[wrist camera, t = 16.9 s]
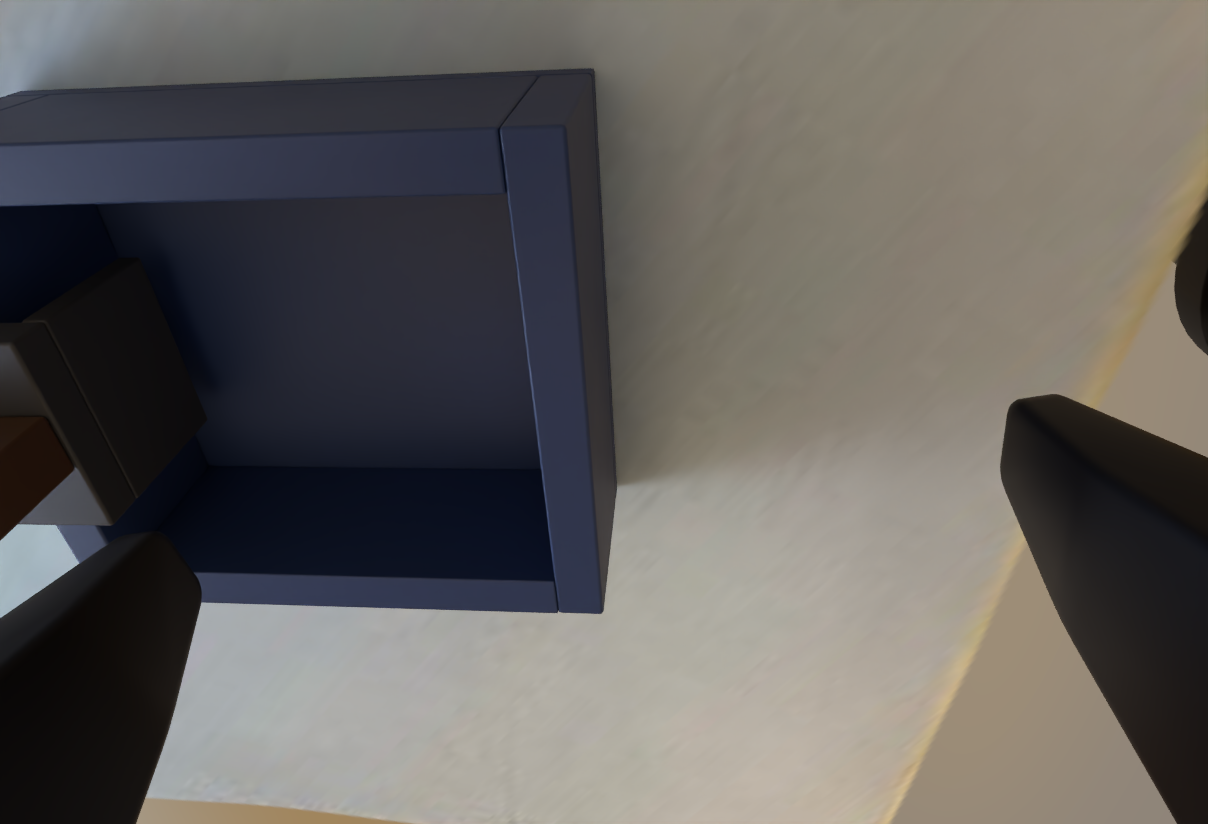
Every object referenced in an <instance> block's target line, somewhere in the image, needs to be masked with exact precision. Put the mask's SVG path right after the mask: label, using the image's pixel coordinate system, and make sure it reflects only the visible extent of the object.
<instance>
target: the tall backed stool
mask: <svg viewBox="0 0 1208 824" xmlns="http://www.w3.org/2000/svg"><path fill="white" fill-rule="evenodd" d="M206 421H207V416H206V414H205V412H204V409H203V407H202V404H201V402H200V400H199V397H198V395H197V393H196V390H195V388H194V385H193V383H192V381H191V378H190V376H189V374H188V371H187V369H186V366H185V364H184V362H183V359H182V357H181V355H180V352H179V350H178V347H177V345H176V343H175V340H174V338H173V336H172V333H171V331H170V328H169V326H168V324H167V321H166V319H165V317H164V314H163V312H162V310H161V307H160V305H159V302H158V300H157V298H156V295H155V293H154V291H153V288H152V286H151V283H150V281H149V279H148V276H147V274H146V272H145V269H144V267H143V264H142V262H141V260H140V258H138V257H137V258H118V259H117V260H115V261H113V262H112V263H110V264H109V265H107V266H106V267H104V268H103V269H101V270H100V271H98V272H97V273H95V274H93V275H92V276H90V277H89V278H87V279H86V280H84V281H83V282H81V283H80V284H78V285H77V286H75V287H73V288H72V289H70V290H69V291H67V292H66V293H64V294H63V295H61V296H60V297H58V298H57V299H55V300H53V301H52V302H50V303H49V304H47V305H46V306H44V307H43V308H41V309H40V310H38V311H37V312H35V313H33V314H32V315H30V316H29V317H27V318H26V319H24V320H23V321H22V323H0V540H1V539H2V538H4V537H5V536H6V535H7V534H8V533H9V532H10V531H11V530H12V529H13V528H14V527H15V526H16V525H17V524H37V525H104V526H111V525H113V524H115V523H116V522H117V520H118V519H119V518H120V517H121V516H122V515H123V514H124V513H125V511H126V510H127V509H128V508H129V507H130V506H131V505H132V504H133V503H134V501H135V498H138V497H139V496H140V495H141V494H142V493H143V492H144V491H145V489H146V488H147V487H148V486H149V485H150V484H151V483H152V482H153V481H154V479H155V478H156V477H157V476H158V475H159V474H160V473H161V472H162V471H163V469H164V468H165V467H166V466H167V465H168V464H169V463H170V462H171V461H172V459H173V458H174V457H175V456H176V455H177V454H178V453H179V452H180V450H181V449H182V448H183V447H184V446H185V445H186V444H187V443H188V442H189V440H190V439H191V438H192V437H193V436H194V435H195V434H196V433H197V432H198V430H199V429H200V428H201V427H202V426H203V425H204V424H205V423H206Z"/></svg>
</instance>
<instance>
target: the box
mask: <svg viewBox="0 0 1208 824" xmlns="http://www.w3.org/2000/svg"><path fill="white" fill-rule="evenodd" d="M137 257H138V258H140V260H141V262H142V264H143V267H144V269H145V272H146V274H147V276H148V279H149V281H150V283H151V286H152V288H153V291H154V293H155V295H156V298H157V300H158V302H159V305H160V307H161V310H162V312H163V314H164V317H165V319H166V321H167V324H168V326H169V328H170V331H171V333H172V336H173V338H174V340H175V343H176V345H177V347H178V350H179V352H180V355H181V357H182V359H183V362H184V364H185V366H186V369H187V371H188V374H189V376H190V378H191V381H192V383H193V385H194V388H195V390H196V393H197V395H198V397H199V400H200V402H201V404H202V407H203V409H204V412H205V414H206V416H207V421H206V423H205V424H204V425H203V426H202V427H201V428H200V429H199V430H198V432H197V433H196V434H195V435H194V436H193V437H192V438H191V439H190V440H189V442H188V443H187V444H186V445H185V446H184V447H183V448H182V449H181V450H180V452H179V453H178V454H177V455H176V456H175V457H174V458H173V459H172V461H171V462H170V463H169V464H168V465H167V466H166V467H165V468H164V469H163V471H162V472H161V473H160V474H159V475H158V476H157V477H156V478H155V479H154V481H153V482H152V483H151V484H150V485H149V486H148V487H147V488H146V489H145V491H144V492H143V493H142V494H141V495H140V496H139V497H138V498H135V501H134V503H133V504H132V505H131V506H130V507H129V508H128V509H127V510H126V511H125V513H124V514H123V515H122V516H121V517H120V518H119V519H118V520H117V522H116V523H115V524H113V525H111V526H104V525H56V526H57V527H58V529H59V531H60V532H61V534H62V536H63V537H64V539H65V541H66V542H67V544H68V546H69V547H70V549H71V550H72V552H73V554H74V555H75V557H76V559H77V560H78V562H79V564H80V563H81V562H83V561H84V560H86V559H87V558H89V557H90V556H91V555H93V554H94V553H96V552H97V551H99V550H100V549H102V548H103V547H104V546H106V545H107V544H109V543H110V542H112V541H113V540H115V539H116V538H118V537H121V536H123V535H127V534H134V533H140V532H147V531H158V532H161V533H163V534H165V535H166V536H168V538H169V539H170V540H171V541H172V543H173V544H174V545H175V547H176V548H177V550H178V551H179V552H180V554H181V555H182V557H183V558H184V559H185V561H186V562H187V564H188V565H189V567H190V568H191V569H192V571H193V572H194V574H195V575H196V576H197V578H198V580H199V582H200V585H201V590H202V601H201V602H206V603H239V604H272V605H306V606H339V607H372V608H405V609H439V610H472V611H505V612H538V613H558V610H559V612H561V613H591V614H601V613H602V612H603V611H604V602H605V593H606V583H607V574H608V565H609V555H610V546H611V537H612V528H613V518H614V509H615V498H616V491H617V480H616V462H615V444H614V425H613V407H612V388H611V370H610V351H609V333H608V314H607V296H606V278H605V259H604V241H603V222H602V204H601V185H600V167H599V148H598V130H597V112H596V93H595V75H594V69H592V68H589V69H564V70H539V71H514V72H489V73H464V74H439V75H414V76H389V77H364V78H339V79H314V80H289V81H264V82H239V83H214V84H190V85H165V86H140V87H115V88H90V89H65V90H40V91H20V92H17V93H14V94H11V95H7V96H6V97H1V98H0V323H22V321H23V320H24V319H26V318H27V317H29V316H30V315H32V314H33V313H35V312H37V311H38V310H40V309H41V308H43V307H44V306H46V305H47V304H49V303H50V302H52V301H53V300H55V299H57V298H58V297H60V296H61V295H63V294H64V293H66V292H67V291H69V290H70V289H72V288H73V287H75V286H77V285H78V284H80V283H81V282H83V281H84V280H86V279H87V278H89V277H90V276H92V275H93V274H95V273H97V272H98V271H100V270H101V269H103V268H104V267H106V266H107V265H109V264H110V263H112V262H113V261H115V260H117V259H118V258H137Z"/></svg>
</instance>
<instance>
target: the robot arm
mask: <svg viewBox="0 0 1208 824" xmlns="http://www.w3.org/2000/svg"><path fill="white" fill-rule="evenodd" d="M1000 471H1001V479H1002V483H1003V486H1004V489H1005V492H1006V494H1007V496H1008V499H1009V501H1010V503H1011V506H1012V508H1013V510H1014V513H1015V515H1016V517H1017V520H1018V522H1019V524H1020V527H1021V529H1022V531H1023V534H1024V536H1025V538H1026V541H1027V543H1028V545H1029V548H1030V550H1031V552H1032V555H1033V557H1034V559H1035V562H1036V564H1037V566H1038V569H1039V571H1040V574H1041V576H1042V578H1043V581H1044V583H1045V585H1046V588H1047V590H1048V592H1049V595H1050V597H1051V599H1052V601H1053V604H1054V606H1055V608H1056V610H1057V612H1058V614H1059V617H1060V619H1061V621H1062V623H1063V624H1064V626H1065V628H1066V630H1067V632H1068V634H1069V636H1070V637H1071V639H1072V641H1073V643H1074V645H1075V646H1076V648H1077V650H1078V652H1079V653H1080V655H1081V657H1082V659H1083V661H1084V662H1085V664H1086V666H1087V668H1088V669H1089V671H1090V673H1091V674H1092V676H1093V678H1094V680H1095V682H1096V683H1097V685H1098V687H1099V688H1100V690H1101V692H1102V693H1103V695H1104V697H1105V699H1106V701H1107V702H1108V704H1109V706H1110V708H1111V709H1112V711H1113V713H1114V715H1115V716H1116V718H1117V720H1118V722H1119V723H1120V725H1121V727H1122V729H1123V730H1124V732H1125V734H1126V735H1127V737H1128V739H1129V741H1130V742H1131V744H1132V746H1133V748H1134V749H1135V751H1136V753H1137V755H1138V756H1139V758H1140V760H1141V762H1142V763H1143V765H1144V767H1145V768H1146V770H1147V772H1148V774H1149V776H1150V777H1151V779H1152V781H1153V782H1154V784H1155V786H1156V788H1157V789H1158V791H1159V793H1160V795H1161V796H1162V798H1163V800H1164V802H1165V803H1166V805H1167V807H1168V808H1169V810H1170V812H1171V814H1172V816H1173V817H1174V819H1175V821H1176V823H1177V824H1208V458H1207V457H1205V456H1203V455H1200V454H1198V453H1196V452H1193V451H1191V450H1189V449H1186V448H1184V447H1182V446H1179V445H1177V444H1175V443H1172V442H1170V441H1167V440H1165V439H1163V438H1160V437H1158V436H1156V435H1153V434H1151V433H1149V432H1146V431H1144V430H1142V429H1139V428H1137V427H1135V426H1132V425H1130V424H1128V423H1125V422H1123V421H1121V420H1118V419H1116V418H1114V417H1111V416H1109V415H1107V414H1104V413H1102V412H1100V411H1097V410H1095V409H1093V408H1090V407H1088V406H1086V405H1083V404H1081V403H1079V402H1076V401H1074V400H1072V399H1069V398H1067V397H1064V396H1061V395H1057V394H1049V395H1043V396H1036V397H1030V398H1023V399H1018V400H1016V401H1015V402H1013V403H1012V404H1011V405H1010V407H1009V409H1008V413H1007V418H1006V426H1005V433H1004V441H1003V448H1002V456H1001V464H1000ZM201 601H202V590H201V585H200V582H199V580H198V578H197V576H196V575H195V574H194V572H193V571H192V569H191V568H190V567H189V565H188V564H187V562H186V561H185V559H184V558H183V557H182V555H181V554H180V552H179V551H178V550H177V548H176V547H175V545H174V544H173V543H172V541H171V540H170V539H169V538H168V536H166V535H165V534H163V533H161V532H158V531H147V532H140V533H134V534H127V535H123V536H121V537H118V538H116V539H115V540H113V541H112V542H110V543H109V544H107V545H106V546H104V547H103V548H102V549H100V550H99V551H97V552H96V553H94V554H93V555H91V556H90V557H89V558H87V559H86V560H84V561H83V562H81V563H80V564H78V565H77V566H75V567H74V568H73V569H71V570H70V571H68V572H67V573H65V574H64V575H62V576H61V577H60V578H58V579H57V580H55V581H54V582H52V583H51V584H49V585H48V586H46V587H45V588H44V589H42V590H41V591H39V592H38V593H36V594H35V595H33V596H32V597H31V598H29V599H28V600H26V601H25V602H23V603H22V604H20V605H19V606H17V607H16V608H15V609H13V610H12V611H10V612H9V613H7V614H6V615H4V616H3V617H2V618H0V824H136V822H137V819H138V816H139V813H140V811H141V808H142V805H143V802H144V800H145V797H146V794H147V791H148V789H149V786H150V783H151V780H152V777H153V775H154V772H155V769H156V766H157V763H158V761H159V758H160V755H161V752H162V749H163V746H164V743H165V740H166V737H167V734H168V731H169V728H170V724H171V720H172V717H173V713H174V710H175V706H176V702H177V698H178V694H179V690H180V686H181V682H182V678H183V674H184V670H185V666H186V662H187V658H188V654H189V650H190V646H191V642H192V638H193V634H194V630H195V626H196V622H197V618H198V614H199V610H200V606H201Z"/></svg>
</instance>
